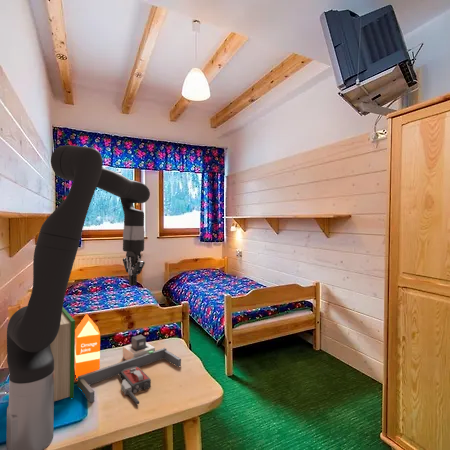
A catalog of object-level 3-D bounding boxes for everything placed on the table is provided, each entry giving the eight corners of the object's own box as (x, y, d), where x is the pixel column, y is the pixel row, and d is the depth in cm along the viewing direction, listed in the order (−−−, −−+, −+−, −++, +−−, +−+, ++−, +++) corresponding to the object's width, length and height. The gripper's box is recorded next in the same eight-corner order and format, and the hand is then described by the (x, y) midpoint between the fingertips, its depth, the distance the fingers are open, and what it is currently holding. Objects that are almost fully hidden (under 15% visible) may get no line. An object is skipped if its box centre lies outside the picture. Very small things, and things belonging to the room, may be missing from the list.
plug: (136, 361, 115) (136, 340, 115) (131, 357, 118) (131, 337, 118) (145, 357, 118) (146, 337, 118) (140, 354, 121) (140, 334, 121)
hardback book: (73, 398, 91) (75, 320, 90) (45, 407, 86) (47, 325, 86) (61, 374, 105) (62, 306, 104) (37, 381, 100) (38, 310, 99)
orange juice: (97, 364, 112) (98, 311, 112) (99, 375, 105) (100, 319, 104) (73, 368, 108) (74, 314, 108) (75, 380, 101) (76, 322, 100)
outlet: (133, 366, 112) (133, 354, 112) (122, 357, 118) (123, 346, 118) (154, 358, 118) (154, 347, 118) (143, 351, 124) (143, 340, 124)
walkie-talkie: (112, 379, 103) (134, 409, 87) (113, 366, 103) (134, 394, 87) (137, 372, 108) (161, 399, 93) (137, 360, 108) (162, 385, 92)
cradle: (90, 402, 89) (90, 389, 89) (77, 386, 97) (77, 374, 97) (180, 366, 112) (181, 355, 112) (164, 356, 120) (164, 346, 120)
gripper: (152, 239, 107) (151, 287, 107) (134, 237, 116) (133, 280, 117) (132, 239, 102) (131, 290, 102) (116, 237, 111) (115, 283, 111)
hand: (132, 285), depth 109 cm, fingers closed
